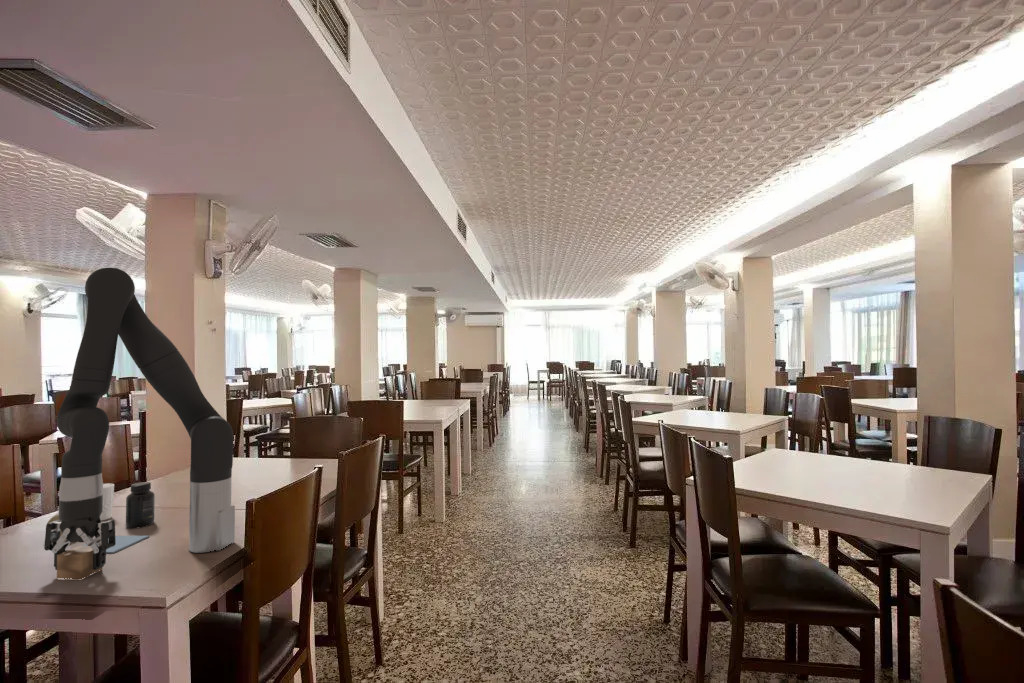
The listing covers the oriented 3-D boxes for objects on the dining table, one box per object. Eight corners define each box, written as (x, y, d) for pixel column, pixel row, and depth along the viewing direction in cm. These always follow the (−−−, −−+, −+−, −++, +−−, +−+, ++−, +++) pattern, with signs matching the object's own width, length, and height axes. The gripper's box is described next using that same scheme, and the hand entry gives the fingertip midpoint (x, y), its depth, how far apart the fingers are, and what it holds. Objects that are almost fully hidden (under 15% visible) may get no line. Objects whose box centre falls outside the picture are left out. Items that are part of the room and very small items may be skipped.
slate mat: (149, 537, 139) (149, 535, 139) (113, 553, 127) (113, 551, 127) (106, 537, 139) (106, 535, 139) (66, 553, 127) (66, 552, 127)
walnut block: (102, 570, 116) (102, 545, 117) (81, 580, 111) (81, 554, 111) (78, 570, 116) (78, 546, 117) (56, 580, 111) (57, 555, 111)
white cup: (99, 523, 152) (100, 489, 153) (73, 523, 152) (74, 489, 153) (120, 515, 160) (120, 483, 161) (95, 515, 160) (96, 483, 161)
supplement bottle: (154, 519, 155) (155, 480, 155) (153, 525, 149) (154, 484, 149) (126, 523, 151) (127, 483, 152) (124, 530, 145) (125, 487, 146)
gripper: (125, 490, 118) (124, 562, 117) (65, 491, 118) (63, 562, 118) (98, 499, 111) (96, 575, 110) (34, 500, 111) (32, 575, 110)
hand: (79, 568), depth 114 cm, fingers open, 8 cm apart
